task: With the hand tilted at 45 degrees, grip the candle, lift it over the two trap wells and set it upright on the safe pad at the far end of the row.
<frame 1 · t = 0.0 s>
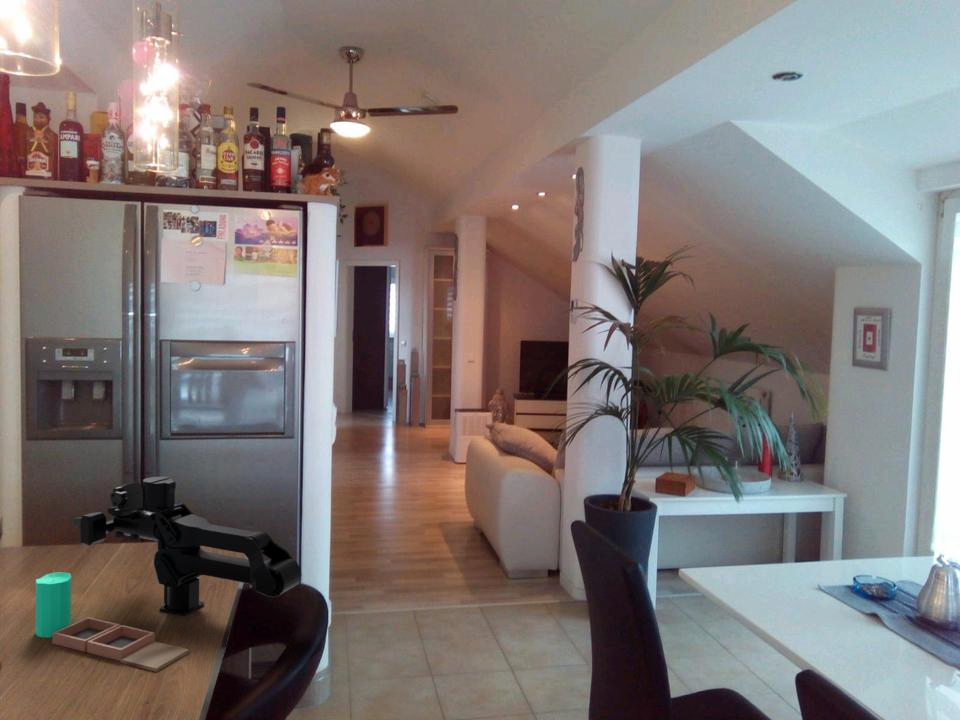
hand: (91, 515, 164), 17 cm above the table, tool horizontal, fingers open, 9 cm apart
trap wells: (103, 643, 139), on the table
safe pad: (155, 657, 134), on the table
candle: (53, 631, 144), on the table
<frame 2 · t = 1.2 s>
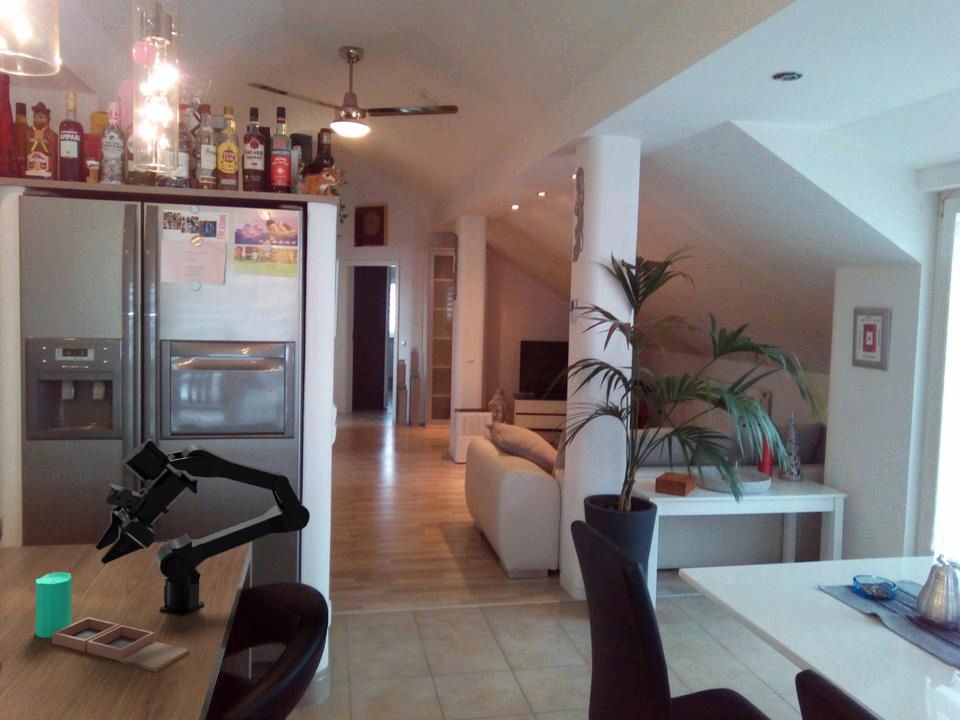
hand: (99, 555, 147), 14 cm above the table, tool tilted 45°, fingers open, 9 cm apart
nothing on the table moved.
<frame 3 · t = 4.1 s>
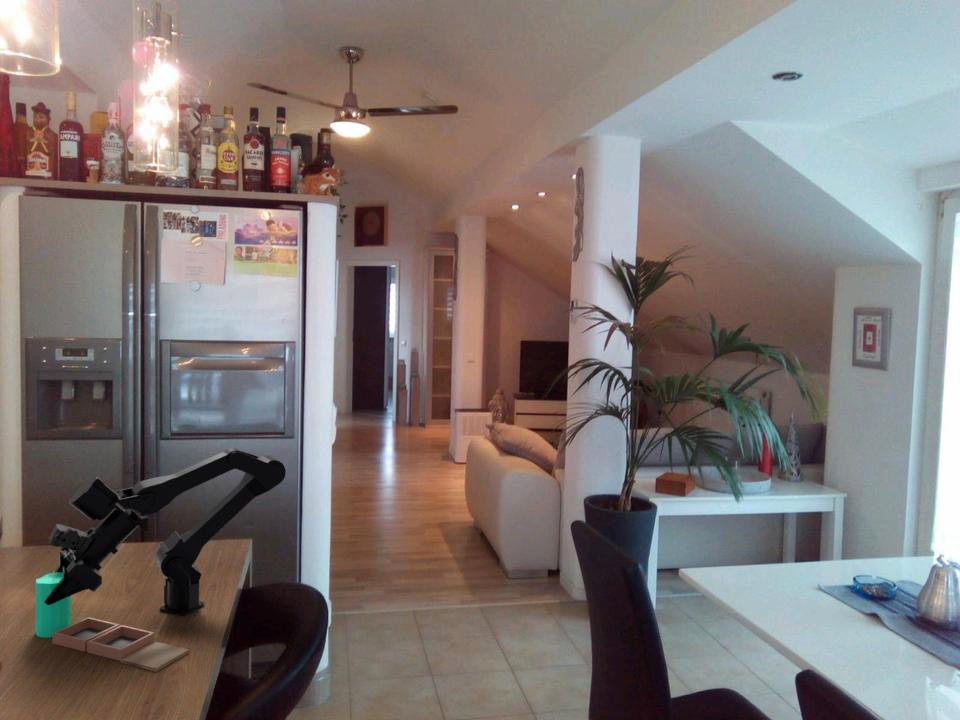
hand: (45, 598, 142), 7 cm above the table, tool tilted 45°, fingers closed on candle, 5 cm apart
candle: (53, 631, 144), on the table, touching gripper
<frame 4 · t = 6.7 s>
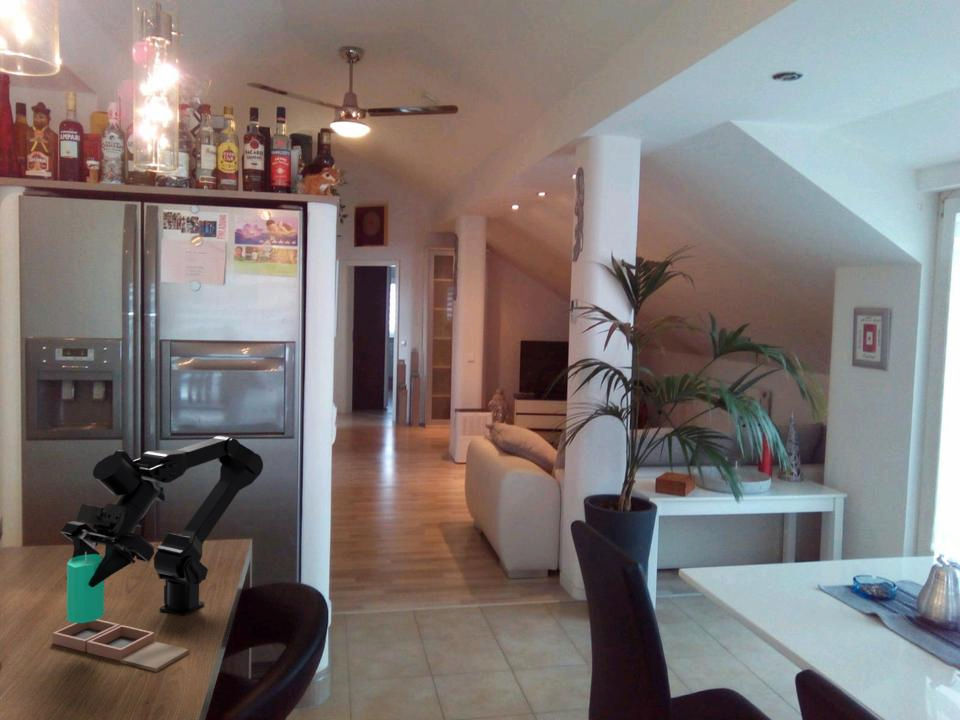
hand: (79, 583, 133), 13 cm above the table, tool tilted 45°, fingers closed on candle, 5 cm apart
candle: (85, 617, 135), point 6 cm above the table, touching gripper
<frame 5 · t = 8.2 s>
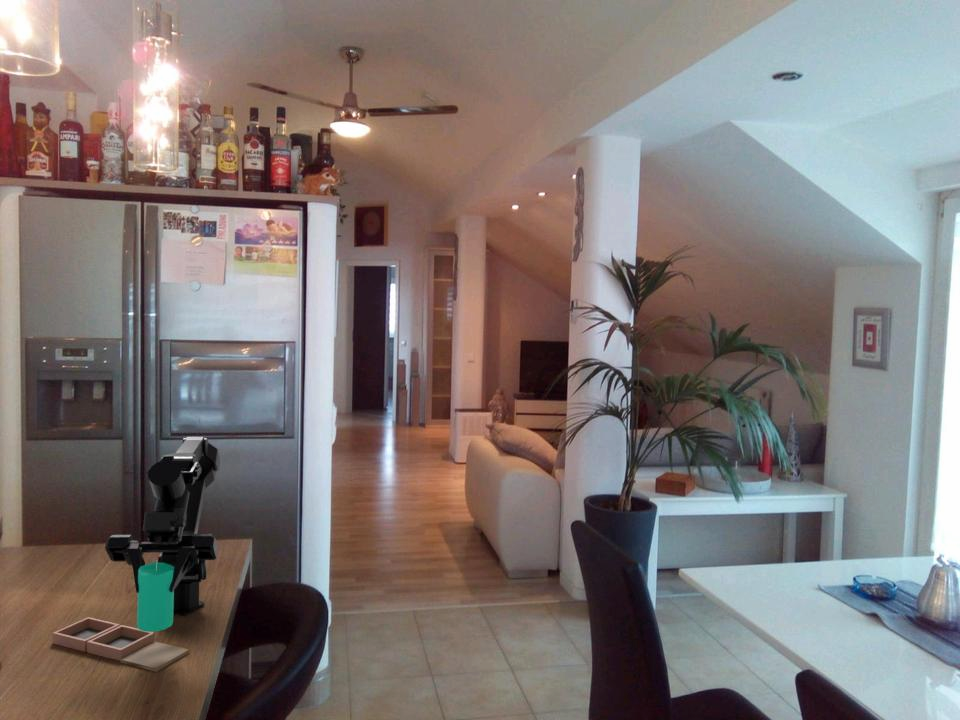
hand: (154, 591, 132), 13 cm above the table, tool tilted 45°, fingers closed on candle, 5 cm apart
candle: (155, 625, 134), point 6 cm above the table, touching gripper
when the fingers open (8 cm above the table, at t = 9.5 s): candle drops 1 cm, resting on safe pad.
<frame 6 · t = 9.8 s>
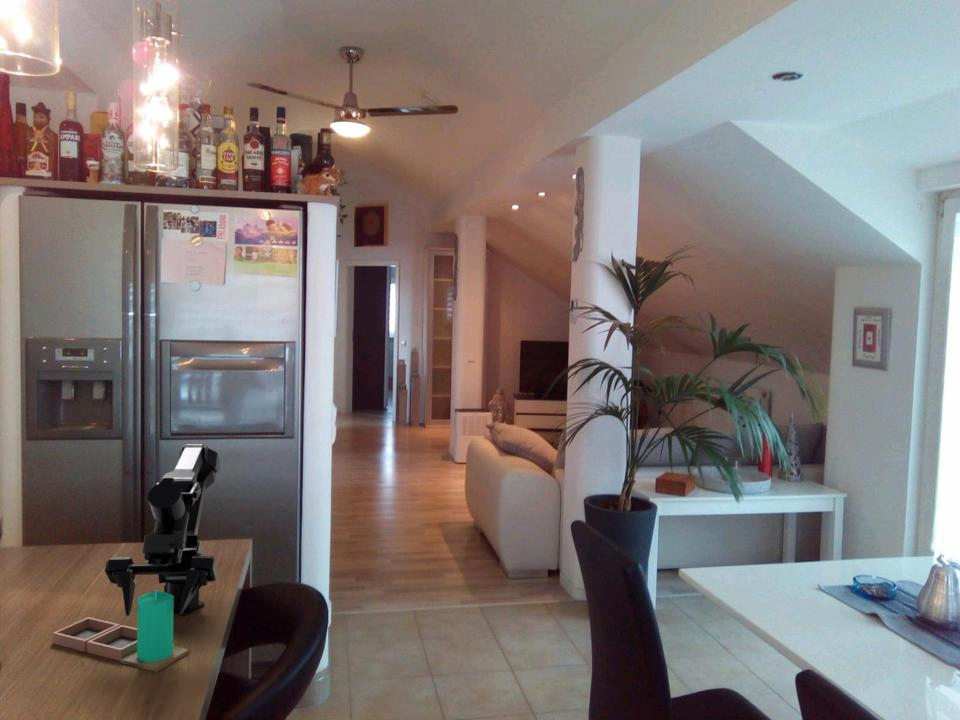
hand: (153, 614, 133), 9 cm above the table, tool tilted 45°, fingers open, 9 cm apart
candle: (155, 655, 135), resting on safe pad
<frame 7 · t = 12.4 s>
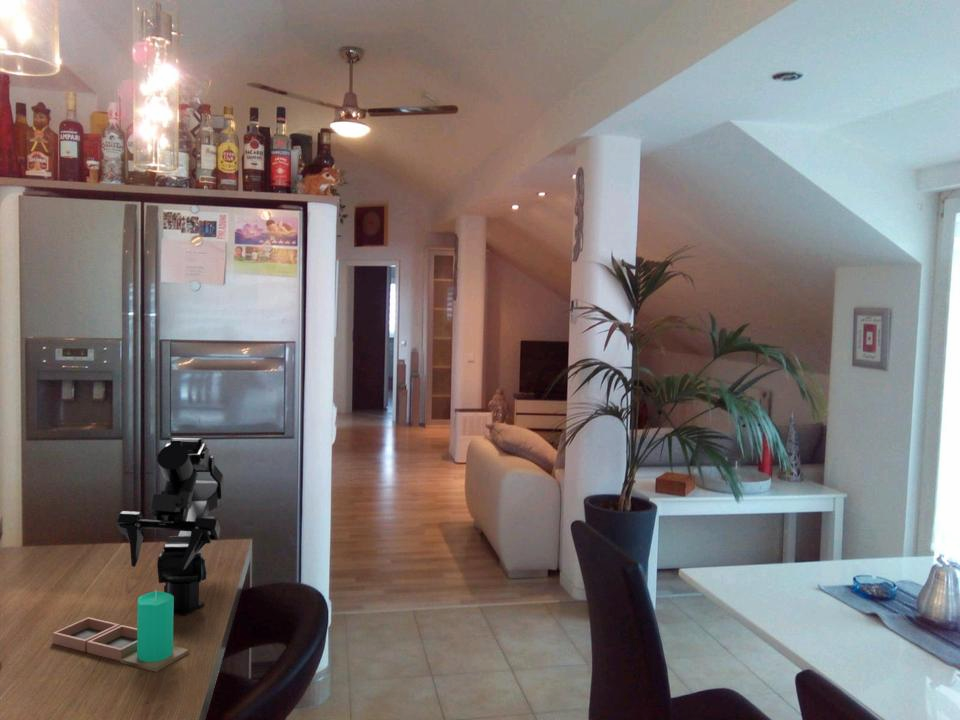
hand: (158, 567, 141), 14 cm above the table, tool tilted 40°, fingers open, 9 cm apart
nothing on the table moved.
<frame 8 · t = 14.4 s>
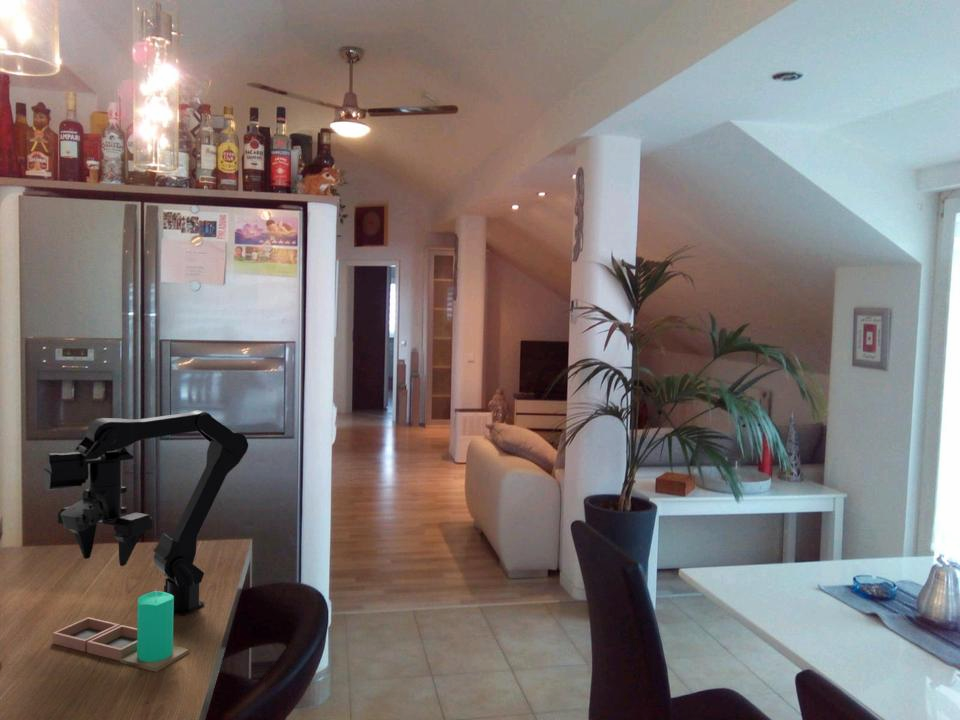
hand: (104, 561, 146), 13 cm above the table, tool pointing down, fingers open, 9 cm apart
nothing on the table moved.
at the end: candle 0.2 cm off-centre on the safe pad, point 0.4 cm above the safe pad's base; candle tilted 0°; the gripper is holding nothing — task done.
